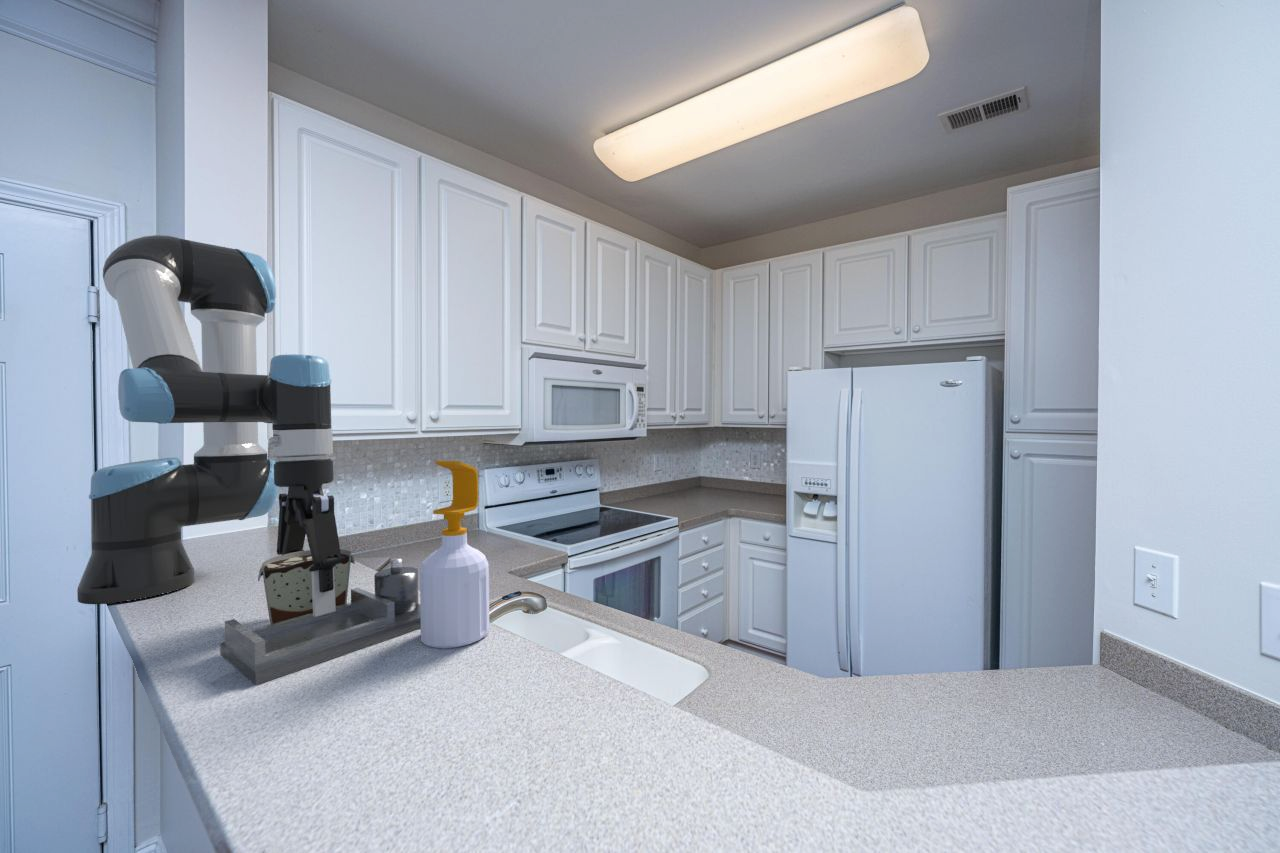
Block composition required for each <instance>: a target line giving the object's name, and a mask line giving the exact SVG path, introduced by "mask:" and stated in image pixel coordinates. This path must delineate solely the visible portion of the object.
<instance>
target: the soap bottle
mask: <svg viewBox="0 0 1280 853" xmlns="http://www.w3.org/2000/svg"><path fill="white" fill-rule="evenodd" d="M434 465H436V466H440V467H442V468H445V469H447V470H449V471H450V472H451V476H452V501H451V504H450V505H449V506H445V507H442V508H438V509H434V510H433V511H432V512H433V514H434V515H443V520H446V521H447V528H444V529H441V545H440V547H439V548H437V549H436V550H435V551H433V552H432V553H431V554H429V555H428V556H427V557H426V558H425V559H424V560H423V561H422V562H421V566H420V569H419V588H420V589H419V595H420V596H419V598H420V600H419V602H420V603H419V604H420V610H421V628H420V640H421V642H422V643H423V644H424V645H425V646H428V647H432V648H436V649H453V648H459V647H465V646H468V645H470V644H471V645H472V644H474V643H476V642H478V641H480V640H482V639H483V638H485V637H486V636H487V635H488V633H489V631H490V628H491V627H490V569H489V568H490V566H489V565H490V564H489V561H488V559H487V557H486V555H485V554H484V553H483V552H481V551H480V550H479V549H477V548H474V547H472V546H470V544H468V530H467V527H465V526H464V527H462V526H461V524H462V523H461V520H462V519H465V513H468V512H472V511H475V510H476V509H477V507H478V505H479V472H478V469H477V468H476V467H475V466H473V465H470V464H468V463H465V462H463V461H459V460H457V461H456V460H435V464H434Z"/></svg>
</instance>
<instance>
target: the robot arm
mask: <svg viewBox="0 0 1280 853" xmlns="http://www.w3.org/2000/svg"><path fill="white" fill-rule="evenodd" d="M102 278H103V282H104V287H105V289H106V291H107V292H108V294H109V295H110V296H111V297H112V299H114V300H115V301H116V302H117V306H118V311H119V314H120V319H121V323H122V327H123V328H122V329H123V331H124V335H125V336H124V337H125V340H126V343H127V344H126V345H127V348H128V353H129V358H130V360H131V365H132V368H125V369H124V370H122V371H121V372H120V374H119V378H118V386H117V387H118V390H117V392H118V394H117V397H118V407H119V413H120V415H121V417H122V418H123V419H125V420H126V421H128V422H132V423H152V424H153V423H154V424H155V423H156V424H158V425H159V424H160V425H162V424H165V425H166V424H186V423H187V424H188V423H189V424H190V423H191V424H193V423H194V424H195V423H203V424H202V425H203V426H202V427H203V445H202V447H201V448H199V449H198V450H197V451H195V453H194V454H193V464H192V463H191V464H182V460H181V461H180V458H178V457H166V458H158V459H157V458H155V459H147V460H145V459H144V460H139V461H134V462H126V463H120V464H114V465H110V466H106V467H103V468H100V469H97V470H96V471H95V472H94V473H93V474H92V475H91V478H90V494H89V495H88V499H89V500H90V508H91V509H90V522H91V523H90V524H91V526H90V527H91V528H90V529H91V530H90V533H91V538H90V539H91V554H90V557H89V559H88V562H87V564H86V566H85V569H84V571H83V573H82V576H81V578H80V581H79V583H78V586H77V590H76V592H77V602H78V603H81V604H83V605H84V604H85V605H107V604H108V605H109V604H117V603H116V602H120V603H122V602H121V601H127V600H134V601H136V600H135V599H140V598H145V597H150V598H152V597H151V596H155V597H157V596H156V595H159V594H162V593H167V592H170V591H174V590H177V589H180V590H182V589H181V588H183V589H185V588H187V587H189V586H191V585H193V584H194V583H195V581H194V580H196V579H195V568H194V565H193V564H192V562H191V560H190V557H189V555H188V553H187V551H186V549H185V547H184V545H183V542H182V541H183V540H182V528H183V527H190V526H199V525H205V524H214V523H221V522H227V521H228V522H229V521H236V520H237V521H245V520H246V519H250V518H257V517H262V516H265V515H267V514H268V513H269V512H270V511H271V510H272V509H273V506H274V505H275V503H276V501H277V497H278V503H279V504H278V505H279V506H278V507H279V512H278V513H279V514H278V527H277V543H276V554H277V556H280V555H284V554H289V553H293V552H299V551H305V549H304V545H305V540H306V539H307V540H306V541H307V544H308V547H309V550H310V552H311V556H312V560H313V564H314V566H311V567H310V568H309V571H310V572H311V576H312V601H313V616H315V617H316V616H320V615H323V614H327V613H330V612H334V611H336V606H335V581H334V567H335V566H336V564H340V563H341V562H342V558H341V552H340V549H341V546H340V539H339V533H338V528H337V521H336V515H335V514H336V513H335V497H334V495H325V494H324V491H323V485H324V484H325V485H326V484H330V483H332V482H333V481H334V479H335V478H334V460H332V458H330V457H329V456H331V455H333V454H334V443H333V442H334V441H333V429H332V402H331V401H332V399H331V395H332V394H331V384H332V379H331V377H330V376H331V375H330V367H329V363H328V361H327V360H326V359H325V358H324V357H323V356H322V357H321V356H317V355H309V354H294V353H293V354H278V355H275V356H273V357H271V359H270V361H269V362H270V364H269V372H268V374H258V372H257V369H258V368H257V362H258V360H257V327H258V326H259V325H260V324H262V323H263V322H264V321H266V314H270V313H272V312H273V310H274V309H275V306H276V298H277V289H276V288H277V287H276V280H275V277H274V273H273V271H272V268H271V266H270V265H269V263H268V262H267V260H266V259H265V258H264V257H262V256H261V255H258V254H255V253H251V252H248V251H244V250H242V249H240V248H232V247H231V248H230V247H226V246H220V245H217V244H216V245H215V244H209V243H203V242H201V241H200V242H199V241H196V240H195V241H194V240H189V239H185V238H184V239H183V238H179V237H178V236H177V237H176V236H171V235H160V234H156V235H155V234H154V235H146V236H142V237H138V238H134V239H131V240H129V241H127V242H125V243H122V244H121V245H119V246H117V248H115V249H114V250H113V251H112V252H111V253H110V254H109V255H108V257H107V258H106V260H105V261H104V265H103V267H102ZM180 302H183V303H187V304H188V303H189V304H190V314H191V315H192V316H193V317H194V318H195V319H197V320H198V321H199V322H200V324H201V363H200V360H199V358H198V354H197V352H196V349H195V345H194V344H193V340H192V338H191V334H190V332H189V329H188V325H187V323H186V319H185V317H184V313H183V311H182V308H181V305H180ZM259 423H264V424H272V426H271V427H272V429H271V430H272V437H270V438H269V439H268V442H269V444H270V445H271V444H272V445H273V457H274V458H278V461H275V460H273V459H272V458H268V451H267V450H266V449H265V448H263V447H262V446H261V445H260V444H259ZM280 488H287V492H286V493H284V492H283V493H279V489H280ZM278 493H279V495H278ZM305 538H306V539H305ZM326 557H327V558H326ZM193 582H194V583H193ZM192 583H193V584H192ZM190 584H191V585H190ZM188 585H189V586H188ZM186 586H187V587H186ZM184 587H185V588H184ZM177 591H178V590H177ZM174 592H175V591H174ZM167 594H168V593H167ZM159 596H160V595H159ZM145 599H146V598H145ZM140 600H141V599H140Z"/></svg>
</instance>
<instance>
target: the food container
mask: <svg viewBox="0 0 1280 853" xmlns="http://www.w3.org/2000/svg"><path fill="white" fill-rule="evenodd" d="M340 552H341V558H342V562H341V563H340V564H336V566H335V567H334V581H335V606H340V605H343V604H347V603H348V594H349V593H348V592H349V581H350V574H351V573H350V571H351V564H353V565H354V564H356V561H355V557H354V554H352V550H350V549H345V548H340ZM326 558H327V557H326ZM311 566H314V564H313V560H312V556H311V552H310V549H308V550H304V551H299V552H293V553H289V554H284V555H277V556H274V557H271V558H268V559H266V560H264V561H263V562H262V565H261V567H260V569H259V571H258V577H257V581H258V582H260V580H261V578H263V583H264V585H263V586H264V591H265V597H266V605H267V612H268V618H269V619H268V620H269V625H270V624H274V623H278V622H281V621H285V620H289V619H292V618H296V617H300V616H303V615H307V614H311V613H313V601H312V576H311V572H310V571H309V568H310V567H311Z"/></svg>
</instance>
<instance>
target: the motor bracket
mask: <svg viewBox="0 0 1280 853" xmlns="http://www.w3.org/2000/svg"><path fill="white" fill-rule="evenodd" d="M389 560H390V568H386V569H382V570H379V571H378V572H375V574H374V579H373V580H374V593H372V592H370V591H368V590H364V589H363V588H359V587H355V588H351V589H350V602H347V604H343V605H340V606H336V611H334V612H330V613H327V614H323V615H320V616H316V617H315V616H313V613H311V614H307V615H303V616H300V617H296V618H292V619H289V620H285V621H281V622H278V623H274V624H270V623H269V624H267V625H263V626H260V627H256V628H253V629H249V628H248V627H247V626H245V625H244V624H242V623H241V622H239V621H237V620H236V619H234V618H233V619H229V620H225V621H224V642H221V643H219V650H220V651H219V652H220V653H219V654H220V656H221V657H222V658H223V659H224V660H226V661H227V662H228V663H230V664H231V665H232V666H233V667H234V668H235V669H236V670H237V671H239V672H240V673H241V674H242V675H243V676H244V677H246V678H247V679H248V680H249V681H250V682H252V683H253V684H254V685H255V686H258V685H261V684H263V683H266V682H269V681H273V680H274V679H277V678H278V679H279V678H281V677H283V676H286V675H289V674H291V673H294V672H297V671H300V670H305V669H306V668H310V667H312V666H316V665H318V664H322V663H325V661H329V660H333V659H335V658H338V657H341V656H344V655H346V654H350V653H352V652H355V651H359V650H361V649H365V648H367V647H369V646H373V645H376V644H379V643H381V642H384V641H386V640H391V639H393V638H396V637H399V636H401V635H404V634H407V633H411V632H413V631H417V630H419V629H421V610H420V603H419V570H418V568H417V567H414V566H413V567H412V566H403V558H401V557H394V558H391V559H389Z"/></svg>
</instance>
